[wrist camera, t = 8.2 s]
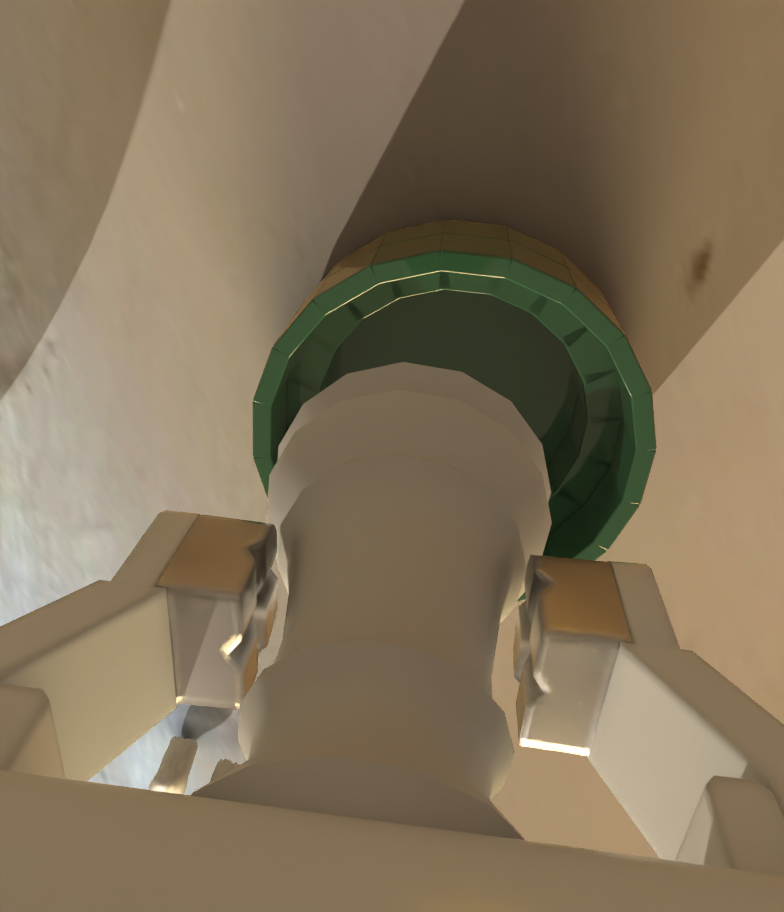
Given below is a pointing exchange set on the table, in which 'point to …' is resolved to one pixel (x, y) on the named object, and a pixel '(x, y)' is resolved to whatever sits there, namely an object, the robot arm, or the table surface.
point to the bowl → (483, 359)
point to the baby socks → (182, 767)
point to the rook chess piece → (394, 602)
